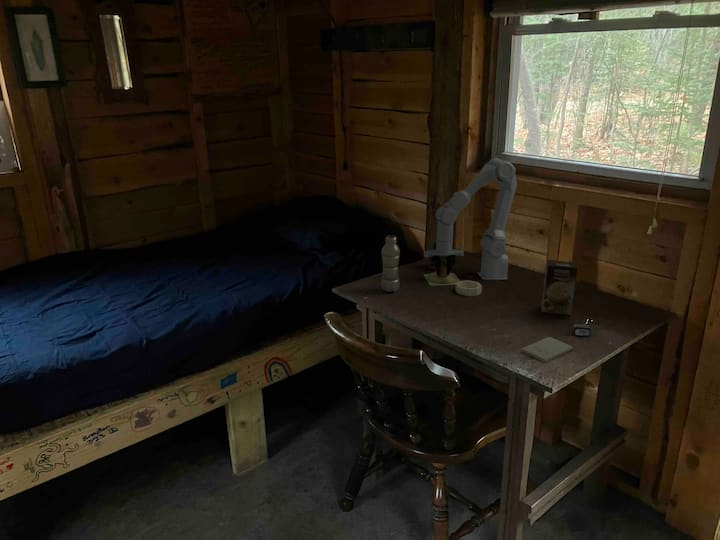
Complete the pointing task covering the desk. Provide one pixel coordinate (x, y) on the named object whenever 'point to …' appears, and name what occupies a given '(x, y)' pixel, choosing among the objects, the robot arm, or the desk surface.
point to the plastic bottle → (390, 265)
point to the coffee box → (559, 287)
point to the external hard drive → (547, 349)
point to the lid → (442, 276)
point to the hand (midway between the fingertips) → (442, 274)
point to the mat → (436, 283)
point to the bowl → (468, 288)
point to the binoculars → (439, 256)
